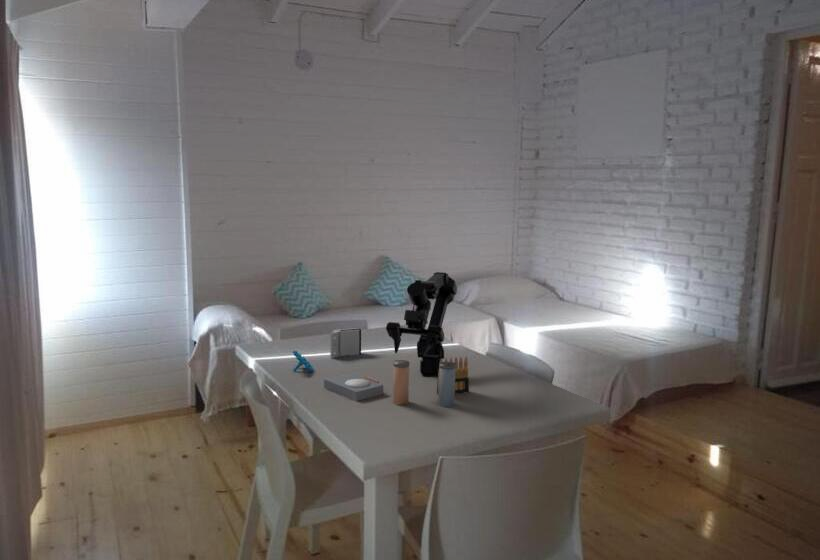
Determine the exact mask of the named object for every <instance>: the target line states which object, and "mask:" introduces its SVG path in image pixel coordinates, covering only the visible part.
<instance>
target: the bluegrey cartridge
mask: <svg viewBox="0 0 820 560" xmlns="http://www.w3.org/2000/svg"><path fill="white" fill-rule="evenodd" d="M439 367H440V380H439V395H438V405H439V406H440V407H443V408H452V407H455V403H456V402H455V401H456V400H455V398H456V397H455V395H456V394H455V368H456V364H455V363H454V361H453V362H450V361H448V362H445V361H442V362H441V363H440V364H439Z"/></svg>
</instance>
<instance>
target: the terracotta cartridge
mask: <svg viewBox="0 0 820 560" xmlns="http://www.w3.org/2000/svg"><path fill="white" fill-rule="evenodd" d="M392 362H393V363H392V364H393V365H392V366H393V369H392V370H393V377H392V379H393V381H392V382H393V385H392V387H393V388H392V389H393V390H392V393H393V394H392V395H393V396H392V397H393V398H392V404H394V405H396V404H397V405H396V406H405V404H406V405H408V404H409V399H410V398H409V397H410V396H409V394H410V390H409V386H410V361H409V360H406V359H405V360H404V359H396V360H394V361H392Z"/></svg>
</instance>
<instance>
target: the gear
mask: <svg viewBox="0 0 820 560" xmlns="http://www.w3.org/2000/svg"><path fill="white" fill-rule="evenodd" d="M292 355H293V356H294V357H295V359H297V361H298V363H297V364H296V366H295V367H294V368H293V369H292V371H293V372H294V371H295V372H296V371H297V370H298V369H299V368H300V367H302V366H304V367H305V368H306V369H308V370H309V371H310V372H314V370H315V369H314V367H313V365H311V363H310V362H309V361H308V360H307V359H306V357H305V356H302V354H301V353H300V352H298V351H296V350H293V351H292Z"/></svg>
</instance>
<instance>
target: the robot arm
mask: <svg viewBox="0 0 820 560" xmlns="http://www.w3.org/2000/svg"><path fill="white" fill-rule="evenodd" d="M406 289H407V290H406V292H407V295H408V298H409V300H410V302H411V304H412V309H404V310H405V311H404V317H403V320H404V321H405V325H406V326H407V327H406V326H401V324H400V322H396V321H395V322H393V321H391V322H390V321H389V322H388V323H387V324H386V327H385V330H386V332H387V334H388V337H390V338H391V339H392V341H393V344H394V353H395V354H398V352H399V349H400V346H401V341H402V335H403V334H407V335H417V336H420V337H419V339H418V341H417V343H416V353H417V358H421V359H420V360H419V372H420V374H421V375H422V377H438V372H439V363H440V360H441V359H442V360H443V359H444V360H445V349H444V346H443V342H444V340H445V333H444V330H443V327H442V326H443V323H444V319H445V316H446V312H447V307H448V305H449V304H451V302H453V301H454V299H455V296H456V295H457V294H458V286H457V284H456V280H454V279H453V278H452V277H451V276H449V273H446V272H441V271H440V272H439V271H436V272H433V274H432V276H430V278H428V279H427V280H421V279H415V281H414V282H412V283H410V284H409V285H408V287H407V288H406ZM431 300H435V302H434V305H433V308H432V309H431V307H432V303H431ZM431 310H432V313H431V316H430V320H429V323H428V319H429V315H430V311H431ZM427 325H428V327H427ZM426 327H427V328H426Z"/></svg>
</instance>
